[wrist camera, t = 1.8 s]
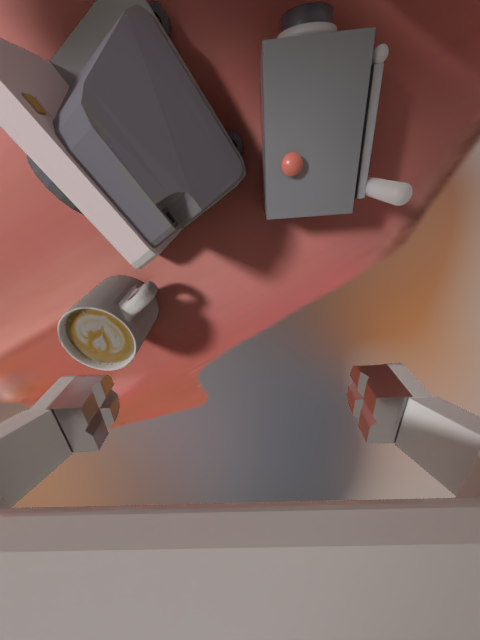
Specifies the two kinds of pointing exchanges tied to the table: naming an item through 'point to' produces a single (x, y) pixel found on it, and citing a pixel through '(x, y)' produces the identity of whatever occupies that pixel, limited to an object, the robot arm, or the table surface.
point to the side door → (367, 185)
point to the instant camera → (120, 127)
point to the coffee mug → (110, 322)
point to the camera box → (313, 113)
